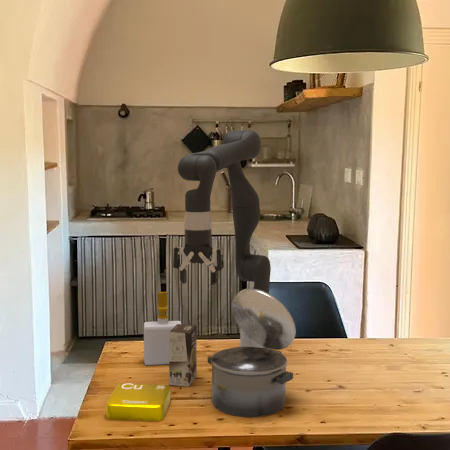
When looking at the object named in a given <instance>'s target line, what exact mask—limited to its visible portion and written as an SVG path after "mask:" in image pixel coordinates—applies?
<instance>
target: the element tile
mask: <svg viewBox="0 0 450 450" xmlns="http://www.w3.org/2000/svg"><path fill="white" fill-rule="evenodd" d="M170 403H171V385H169V384H160V383H158V384H156V383H155V384H153V383H129V382H128V383H125V382H123V383H118V384H117V385H116V386H115V387H114V389H113V391H112V392H111V394H110V395H109V397H108V398H107V400H106V402H105V418H106V419H107V420H111V421H134V422H136V421H137V422H161V421H163V420H164V419H165V416H166V414H167V412H168V411H167V410H168V408H169V405H170Z"/></svg>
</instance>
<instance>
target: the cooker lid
mask: <svg viewBox="0 0 450 450" xmlns="http://www.w3.org/2000/svg"><path fill="white" fill-rule="evenodd" d="M231 302H232V303H231V311H232V315H233V318H234V320H235V322H236V324H237V325H238V327H239V328H241V330H242V331H243V332H244V333H245V334H246V335H247V336H248V337H249V338H250V339H252V340H253V341H254V342H256V343H257V344H259V345H261V346H263V347H266V348H268V349H272V350H276V351H281V350H284V349H287V348H288V347H289V346H290V345H291V344H292V343H293V341H294V340H295V337H296V333H297V332H296V331H297V330H296V329H297V328H296V325H295V324H296V323H295V321H294V319H293V316H292V315H291V313H290V312H289V310H288V309H287V307H286V306H285V305H284V303H282V302H281V301H280V300H278V299H277V298H276V297H275V296H273V295H272V294H270V293H269V294H268V293H266V292H264V291H261V290H258V289H253V288H244V289H242V290H240V291H239V292H238V293H237V294H235V296H234V297H233V300H232V301H231Z"/></svg>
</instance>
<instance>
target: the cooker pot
mask: <svg viewBox="0 0 450 450" xmlns="http://www.w3.org/2000/svg"><path fill="white" fill-rule="evenodd" d="M207 364H210V365H211V404H212V406H213V407H214V408H215V409H217V410H218V411H219V412H222V413H224V414H227V415H230V416H234V417H241V418H258V417H259V418H260V417H267V416H271V415H274V414H276V413H279V412H280V411H282V410H283V409H284V407H285V406H286V387H287V386H286V384H287V383H288V382H290V381H292V380H293V379H294V372H291V371H287V365H288V359H287V357H286V355H284V354H283V353H282V351H281V350H274V349H269V348H259V347H240V346H236V347H230V348H225V349H221V350H218V351H216V352H215V353H213V354H212V355H210V356H208V357H207Z"/></svg>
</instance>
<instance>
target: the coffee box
mask: <svg viewBox="0 0 450 450" xmlns="http://www.w3.org/2000/svg"><path fill="white" fill-rule="evenodd" d="M197 326H198V325H197V324H188V323H187V324H182V323H181V324H177V325H176V326H175V327H174V328H173V329H172V330H171V331H170V332H169V364H168V385H169V386H179V387H186V388H188V387H190V386H191V385H192V383H193V381H194V380H195V379H196V377H197V372H198V371H197V366H198V365H197V364H198V363H197V361H198V359H197V357H198V356H197V355H198V352H197V348H198V347H197V346H198V344H197V343H198V342H197V341H198V339H197V337H198V336H197V334H198V333H197V328H198V327H197Z"/></svg>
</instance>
